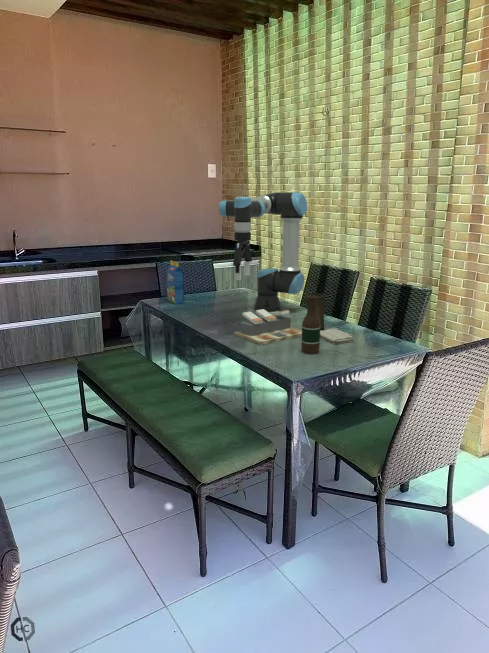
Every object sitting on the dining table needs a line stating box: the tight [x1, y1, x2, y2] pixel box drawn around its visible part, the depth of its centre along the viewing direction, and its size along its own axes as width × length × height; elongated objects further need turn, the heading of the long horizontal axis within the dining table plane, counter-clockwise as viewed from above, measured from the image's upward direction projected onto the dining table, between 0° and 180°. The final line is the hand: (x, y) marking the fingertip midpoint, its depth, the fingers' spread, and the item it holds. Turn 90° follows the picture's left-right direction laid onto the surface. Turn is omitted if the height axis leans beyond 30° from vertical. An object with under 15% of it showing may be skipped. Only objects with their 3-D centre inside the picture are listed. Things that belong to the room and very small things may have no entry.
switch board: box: [234, 325, 302, 346], centre depth 234 cm, size 28×20×2 cm
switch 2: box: [269, 309, 290, 317], centre depth 240 cm, size 4×10×2 cm, turn 36°
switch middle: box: [255, 309, 276, 322], centre depth 236 cm, size 4×10×2 cm, turn 36°
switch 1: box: [242, 311, 263, 324], centre depth 231 cm, size 4×10×2 cm, turn 36°
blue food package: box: [166, 259, 185, 305], centre depth 301 cm, size 6×12×25 cm, turn 31°
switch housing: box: [239, 314, 292, 336], centre depth 237 cm, size 24×8×5 cm, turn 126°
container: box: [307, 292, 327, 331], centre depth 239 cm, size 9×9×18 cm
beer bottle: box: [301, 295, 321, 355], centre depth 208 cm, size 8×8×24 cm
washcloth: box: [320, 327, 355, 345], centre depth 229 cm, size 12×18×3 cm, turn 26°
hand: (242, 277), depth 233 cm, fingers open, 13 cm apart
